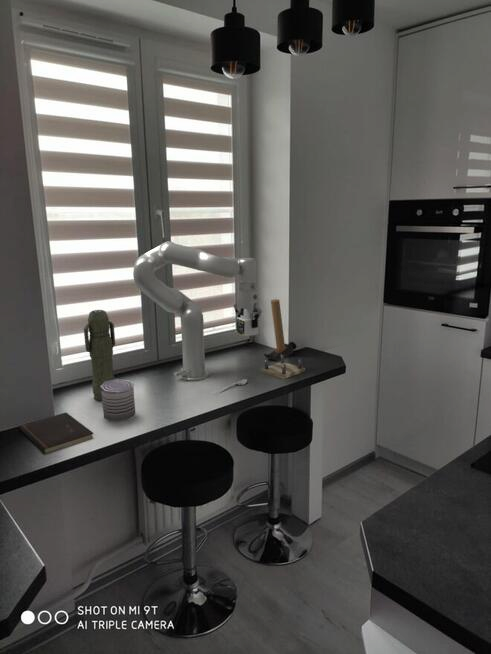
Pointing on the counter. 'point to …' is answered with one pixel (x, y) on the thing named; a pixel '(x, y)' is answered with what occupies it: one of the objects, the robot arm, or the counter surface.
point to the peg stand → (283, 368)
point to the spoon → (233, 384)
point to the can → (118, 400)
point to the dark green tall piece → (100, 349)
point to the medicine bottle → (245, 324)
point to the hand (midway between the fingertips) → (247, 325)
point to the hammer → (279, 335)
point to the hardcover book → (56, 432)
